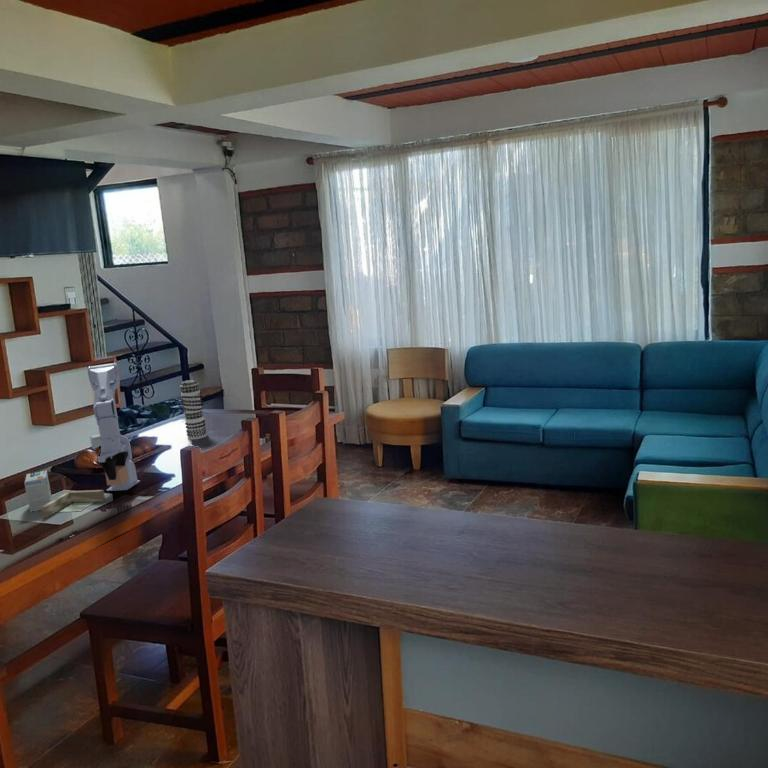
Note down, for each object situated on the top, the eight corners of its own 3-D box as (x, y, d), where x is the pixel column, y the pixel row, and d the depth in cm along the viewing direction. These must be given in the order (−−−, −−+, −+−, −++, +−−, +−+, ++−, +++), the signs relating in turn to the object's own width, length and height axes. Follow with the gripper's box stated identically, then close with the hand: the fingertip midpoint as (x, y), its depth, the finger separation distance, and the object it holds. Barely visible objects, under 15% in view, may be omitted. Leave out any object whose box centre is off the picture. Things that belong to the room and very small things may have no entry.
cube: (115, 480, 249) (112, 466, 248) (128, 479, 248) (126, 465, 247) (107, 485, 244) (104, 470, 244) (121, 484, 243) (118, 470, 243)
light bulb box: (31, 503, 256) (25, 473, 254) (52, 499, 258) (47, 469, 256) (29, 512, 246) (23, 481, 244) (51, 508, 248) (45, 477, 246)
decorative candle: (211, 436, 326) (202, 380, 321) (191, 440, 321) (182, 384, 316) (203, 432, 334) (195, 378, 329) (183, 437, 329) (174, 382, 324)
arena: (70, 501, 254) (68, 491, 253) (105, 499, 252) (103, 489, 251) (43, 517, 240) (41, 507, 239) (80, 516, 237) (78, 505, 237)
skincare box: (97, 467, 294) (91, 437, 291) (94, 465, 297) (89, 436, 295) (113, 463, 297) (107, 434, 295) (110, 461, 301) (105, 432, 298)
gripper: (109, 442, 236) (116, 483, 238) (132, 430, 250) (138, 469, 252) (89, 443, 237) (96, 484, 240) (112, 431, 251) (119, 470, 254)
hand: (116, 476), depth 246 cm, fingers closed on cube, 5 cm apart
